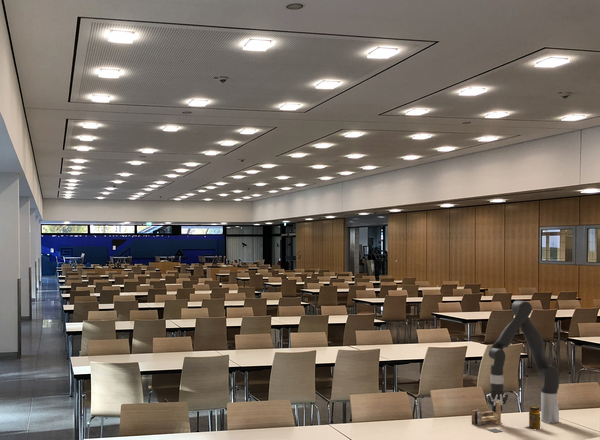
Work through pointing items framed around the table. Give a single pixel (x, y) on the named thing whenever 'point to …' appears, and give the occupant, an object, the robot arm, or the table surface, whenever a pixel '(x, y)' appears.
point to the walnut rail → (484, 414)
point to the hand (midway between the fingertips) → (497, 411)
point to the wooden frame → (495, 417)
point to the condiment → (534, 418)
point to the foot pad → (494, 430)
